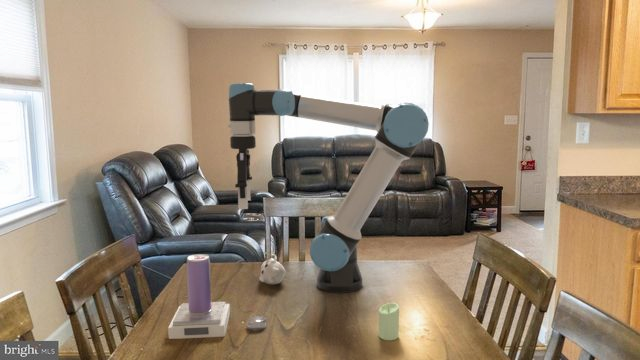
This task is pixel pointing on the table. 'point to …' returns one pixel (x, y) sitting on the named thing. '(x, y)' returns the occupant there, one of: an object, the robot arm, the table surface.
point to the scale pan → (189, 319)
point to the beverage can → (199, 284)
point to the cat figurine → (272, 271)
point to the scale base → (200, 328)
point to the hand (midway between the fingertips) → (244, 204)
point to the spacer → (256, 323)
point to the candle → (389, 321)
